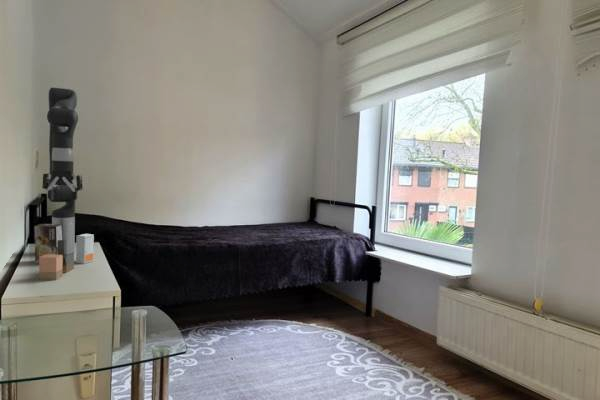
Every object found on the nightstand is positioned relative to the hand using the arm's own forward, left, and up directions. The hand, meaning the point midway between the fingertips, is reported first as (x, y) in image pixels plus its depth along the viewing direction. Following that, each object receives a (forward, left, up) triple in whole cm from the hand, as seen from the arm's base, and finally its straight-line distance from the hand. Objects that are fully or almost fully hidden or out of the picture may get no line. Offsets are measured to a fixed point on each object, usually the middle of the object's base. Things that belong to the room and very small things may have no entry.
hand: (62, 200), depth 173 cm
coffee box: (-13, -7, -28) cm, 32 cm away
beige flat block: (+8, -1, -24) cm, 25 cm away
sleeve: (+3, +1, -28) cm, 28 cm away
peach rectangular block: (+13, -2, -28) cm, 31 cm away
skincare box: (-11, +7, -28) cm, 31 cm away
